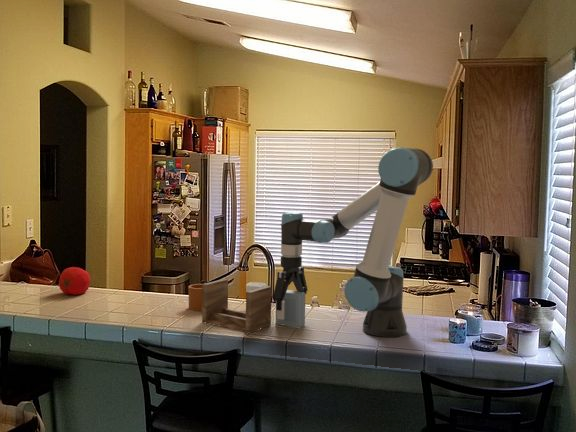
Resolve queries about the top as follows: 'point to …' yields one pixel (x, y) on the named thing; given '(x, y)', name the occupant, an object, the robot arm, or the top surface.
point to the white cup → (254, 285)
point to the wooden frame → (244, 321)
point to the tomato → (74, 281)
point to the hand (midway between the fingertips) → (290, 315)
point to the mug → (195, 297)
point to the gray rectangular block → (293, 309)
